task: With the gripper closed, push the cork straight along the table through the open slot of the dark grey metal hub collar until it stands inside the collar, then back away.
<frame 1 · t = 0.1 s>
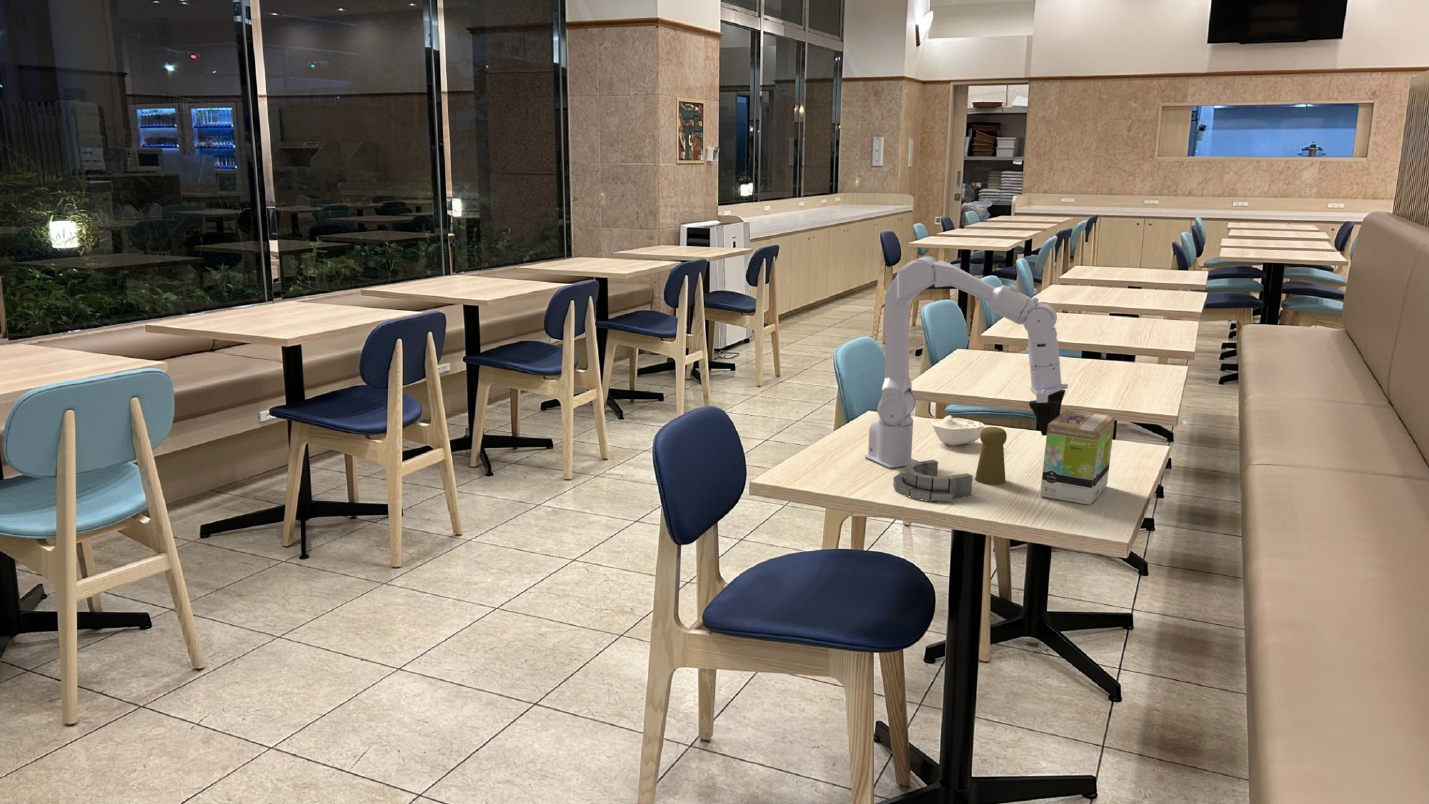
hand: (1050, 430, 211), 10 cm above the table, tool pointing down, fingers open, 7 cm apart
tea box: (1074, 492, 206), on the table, touching gripper
cell model: (956, 445, 240), on the table
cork: (990, 481, 213), on the table
hub collar: (935, 489, 207), on the table
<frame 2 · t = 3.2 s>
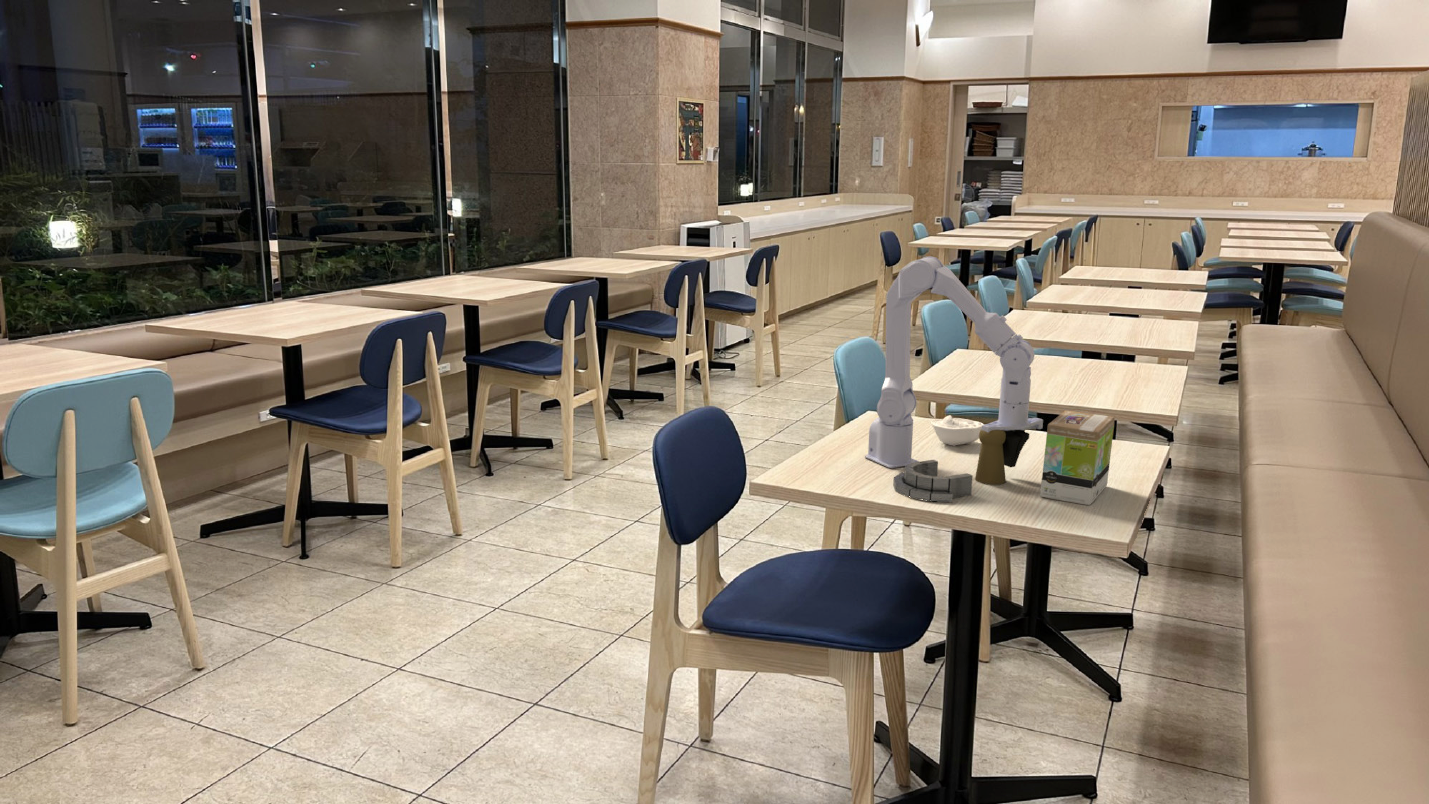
hand: (1009, 465, 214), 2 cm above the table, tool pointing down, fingers closed
tea box: (1074, 493, 206), on the table
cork: (990, 480, 213), on the table, touching gripper
everything else where it was.
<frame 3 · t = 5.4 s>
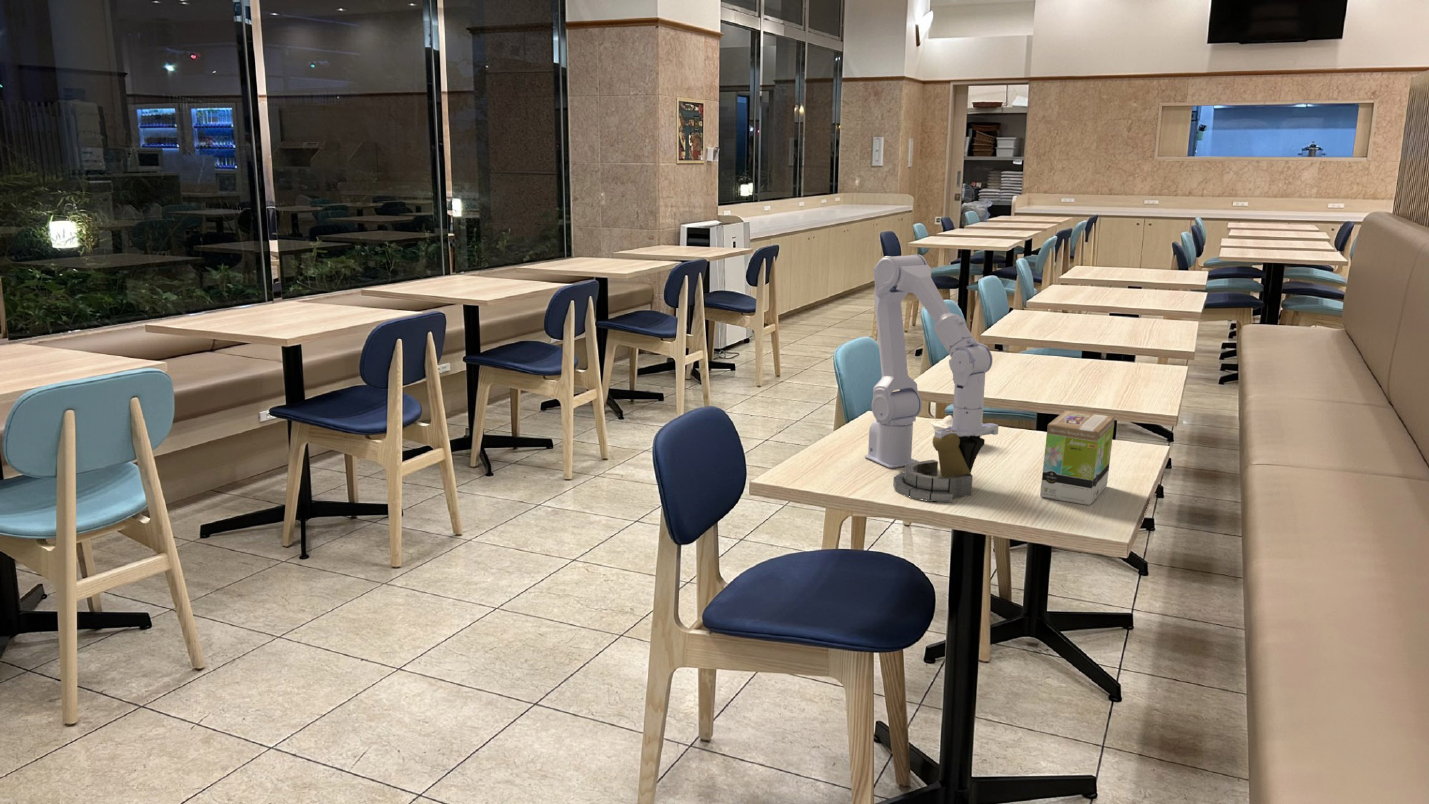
hand: (964, 472, 209), 3 cm above the table, tool pointing down, fingers closed, pressing on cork
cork: (957, 481, 208), point 1 cm above the table, touching gripper
everything else where it was.
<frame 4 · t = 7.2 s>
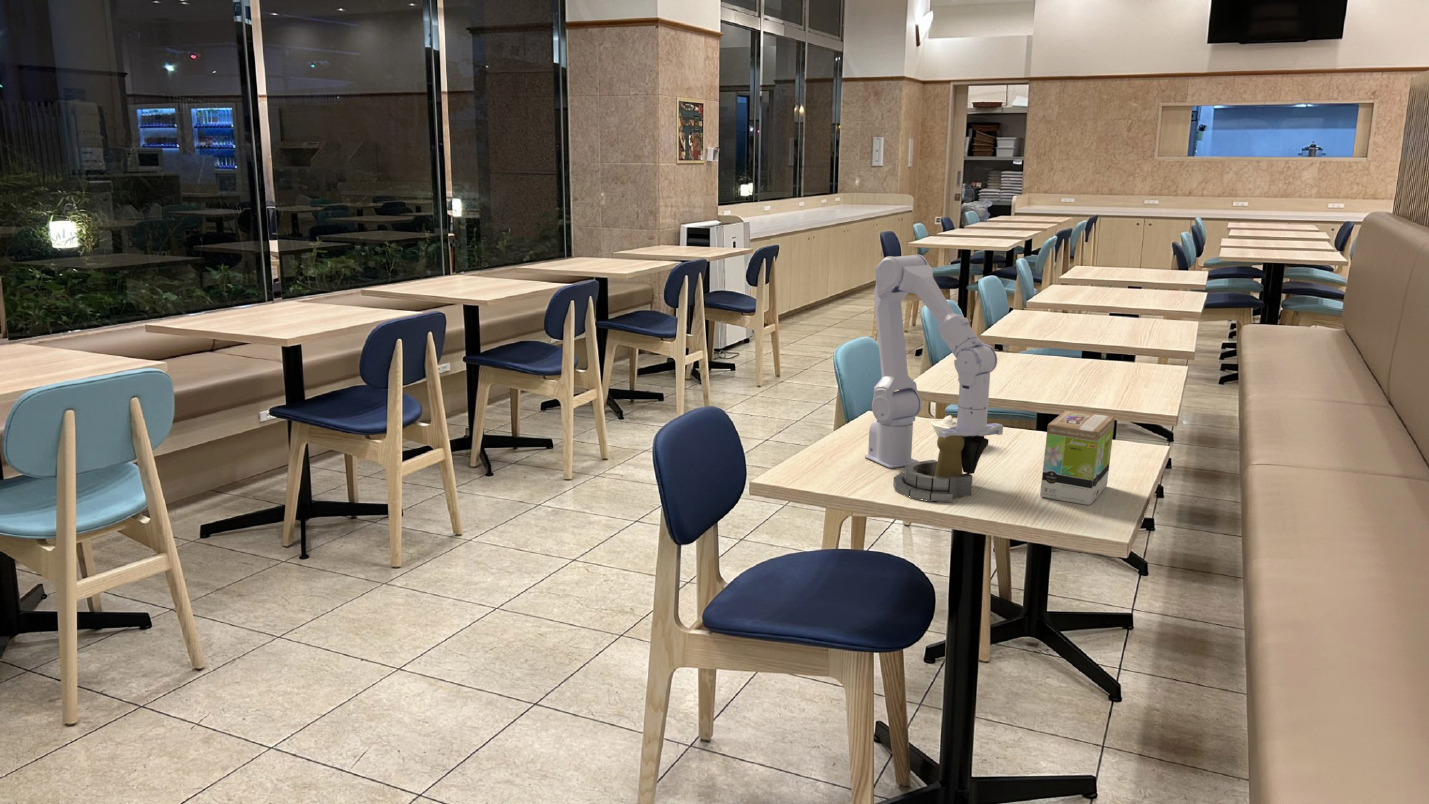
hand: (968, 472, 210), 2 cm above the table, tool pointing down, fingers closed
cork: (948, 488, 208), on the table, touching gripper
everything else where it was.
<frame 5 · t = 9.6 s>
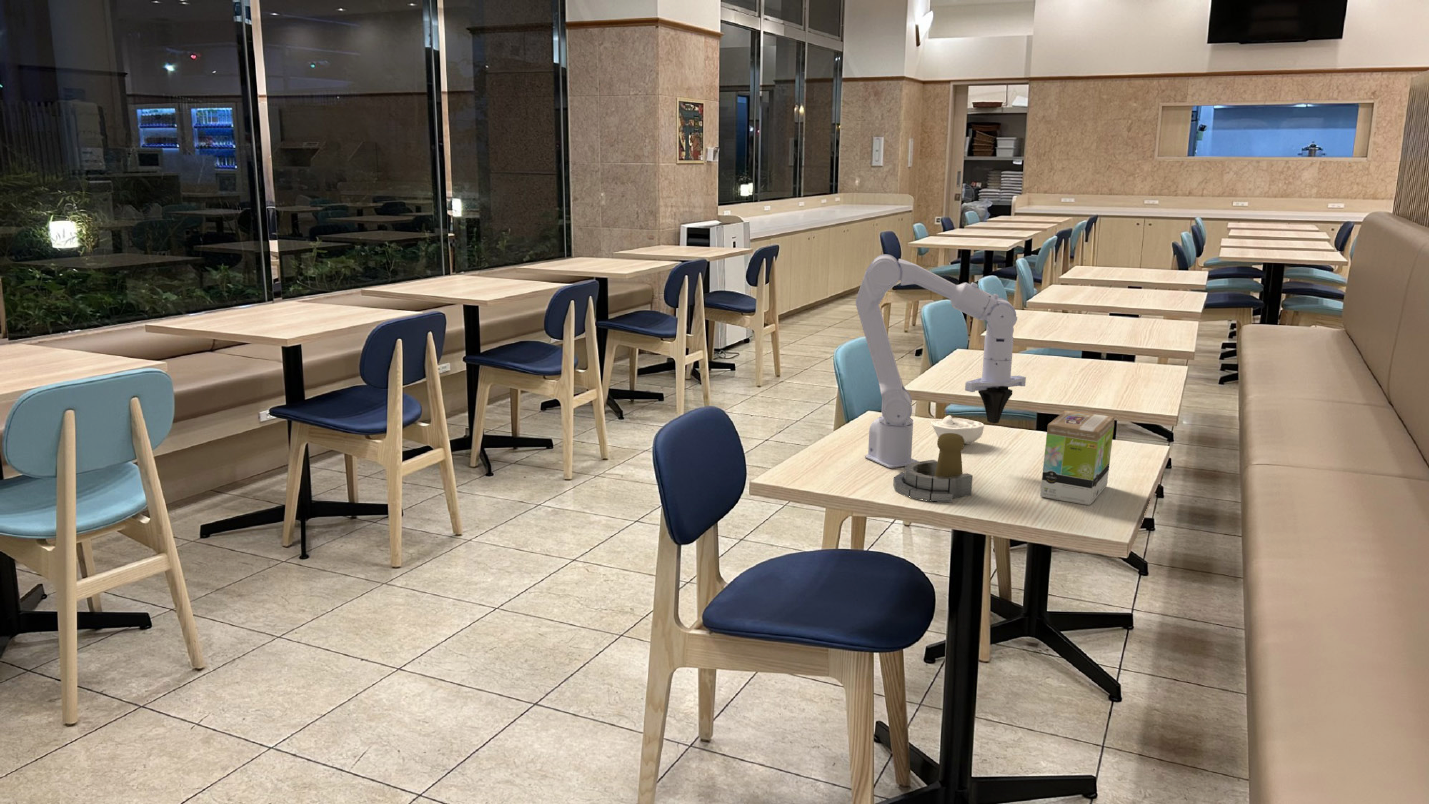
hand: (993, 422, 219), 10 cm above the table, tool pointing down, fingers closed
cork: (948, 488, 208), on the table
everything else where it was.
at the end: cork 3.0 cm from the hub collar (horizontally); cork tilted 0°; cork touching table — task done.
